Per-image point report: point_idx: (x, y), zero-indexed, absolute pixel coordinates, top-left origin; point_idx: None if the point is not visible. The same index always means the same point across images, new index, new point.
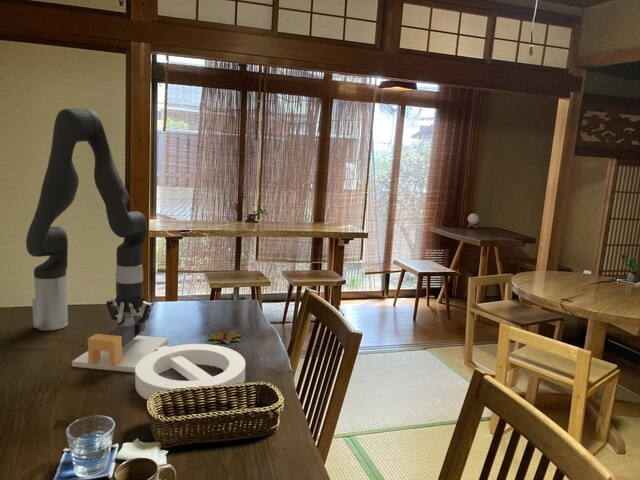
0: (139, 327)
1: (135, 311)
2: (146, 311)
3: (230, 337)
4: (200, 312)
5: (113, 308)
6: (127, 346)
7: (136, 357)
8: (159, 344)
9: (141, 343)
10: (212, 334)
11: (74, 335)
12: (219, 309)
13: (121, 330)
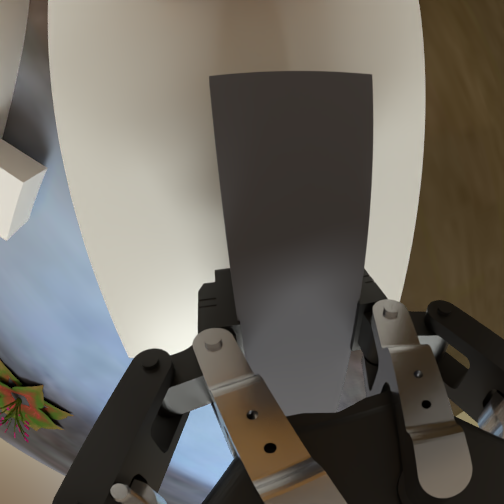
0: (198, 320)
1: (235, 445)
2: (91, 459)
3: (9, 402)
4: (212, 485)
5: (487, 382)
6: None
7: (104, 78)
8: (107, 287)
9: (203, 267)
10: (61, 415)
11: (496, 266)
12: (182, 496)
13: (277, 145)
